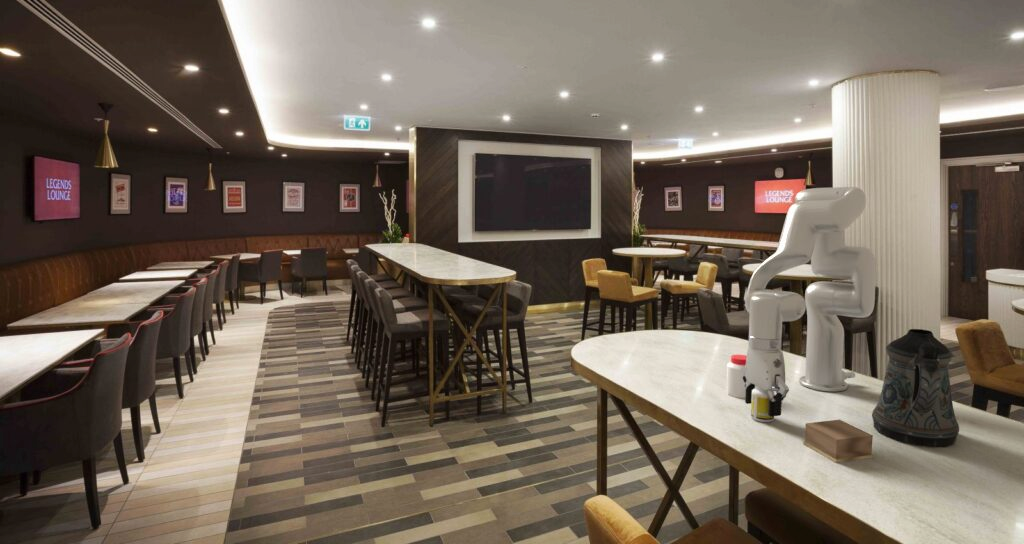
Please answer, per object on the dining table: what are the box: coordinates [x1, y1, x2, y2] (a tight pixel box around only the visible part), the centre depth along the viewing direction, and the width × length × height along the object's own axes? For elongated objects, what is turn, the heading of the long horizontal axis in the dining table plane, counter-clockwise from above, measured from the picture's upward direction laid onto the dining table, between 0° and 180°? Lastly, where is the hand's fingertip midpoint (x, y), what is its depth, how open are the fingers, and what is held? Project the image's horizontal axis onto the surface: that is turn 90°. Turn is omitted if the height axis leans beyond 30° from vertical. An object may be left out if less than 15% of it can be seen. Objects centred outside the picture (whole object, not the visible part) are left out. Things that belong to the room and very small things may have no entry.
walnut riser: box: [802, 419, 874, 464], centre depth 119 cm, size 9×9×5 cm
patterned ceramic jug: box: [871, 328, 960, 449], centre depth 124 cm, size 16×19×25 cm
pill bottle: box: [725, 354, 747, 399], centre depth 156 cm, size 8×8×11 cm
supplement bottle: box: [750, 385, 776, 423], centre depth 137 cm, size 5×5×10 cm
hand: (762, 408), depth 137 cm, fingers open, 8 cm apart
